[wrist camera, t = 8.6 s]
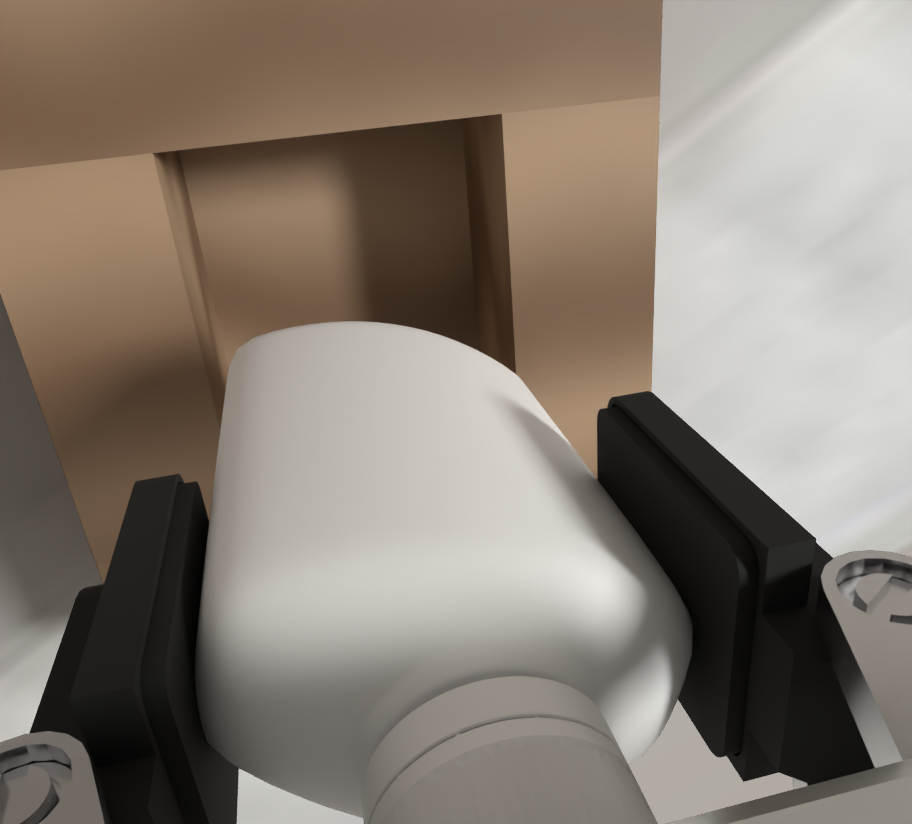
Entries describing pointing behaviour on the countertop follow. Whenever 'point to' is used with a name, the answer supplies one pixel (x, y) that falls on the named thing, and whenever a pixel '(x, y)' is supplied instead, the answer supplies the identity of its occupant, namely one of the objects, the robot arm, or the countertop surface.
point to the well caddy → (317, 204)
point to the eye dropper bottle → (425, 591)
